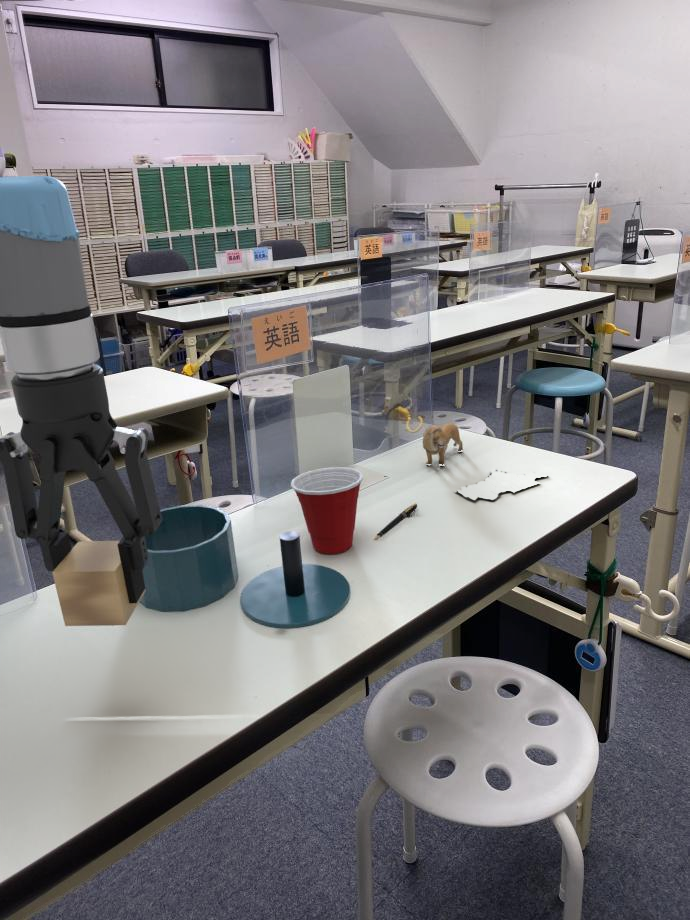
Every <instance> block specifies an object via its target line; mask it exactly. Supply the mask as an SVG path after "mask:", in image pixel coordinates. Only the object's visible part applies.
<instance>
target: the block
mask: <svg viewBox="0 0 690 920" xmlns="http://www.w3.org/2000/svg"><path fill="white" fill-rule="evenodd" d="M119 542H120V540H87V541H86V540H84V541H83V540H82V541H77V542H76V544H75V545H74V546H73V547H72V550H71V551H70V552H69V553H68V555H67V556H66V557H65V558H64V559H63V560H62V562H61V563H60V564H59V565H58V566H57V567H56V569H55V570H54V571H51V572H52V577H53V582H54V585H55V589H56V594H57V598H58V602H59V606H60V610H61V614H62V618H63V623H64V625H65V627H92V626H93V627H95V626H96V627H101V626H103V627H104V626H108V627H109V626H126V625H127V624H128V622H129V620H130V619H131V617H132V615H133V613H134V612H135V611H136V608H137V607H138V605H139V603H140V600H141V598H142V596H143V595H144V593H145V591H146V590H144V592H143V593H142V595H141V597H140V598H139V600H138V602H137V603H129V599H128V594H127V589H126V584H125V579H124V574H123V569H122V564H121V560H120V555H119V550H118V545H117V544H118V543H119Z"/></svg>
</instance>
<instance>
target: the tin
mask: <svg viewBox="0 0 690 920" xmlns="http://www.w3.org/2000/svg"><path fill="white" fill-rule="evenodd" d="M160 512H161V516H162V522H161V523H160V525H159V526H158V528H157V529H156V531H155V532H154V534H153V535H151V536H147V535H146V536H145V540H146V545H147V551H148V556H149V558H148V562H147V564H146V565H145V567H144V568H143V569H142V572H143V577H144V583H145V590H146V591H145V593H144V595H143V596H142V598H141V600H140V602H139V603H140V604H141V605H142V606H143V607H144V608H146V609H148V610H149V609H150V610H153V611H157V612H161V613H183V612H187V611H192V610H197V609H201V608H204V607H207V606H209V605H211V604H214V603H215V602H218V601H219V600H222V599H224V598H225V597H226V596H227V595H228V594H229V593H230V592H231V591H232V590H234V589H235V587H236V585H237V583H238V579H239V570H238V564H237V563H238V562H237V556H236V549H235V548H236V547H235V541H234V533H233V526H232V520H231V518H230V516H229V514H228V513H227V511H225V510H223V509H221V508H219V507H217V506H210V505H205V504H187V505H186V504H185V505H184V504H182V505H178V506H171V507H167V508H162V509H160Z"/></svg>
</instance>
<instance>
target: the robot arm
mask: <svg viewBox="0 0 690 920" xmlns="http://www.w3.org/2000/svg"><path fill="white" fill-rule="evenodd" d="M79 230H80V229H79V228H78V227H77V225H76V221H75V217H74V213H73V208H72V205H71V201H70V196H69V192H68V190H67V187H66V186H65V184H64V183H63V182H62V181H61V180H59V178H56V177H54V176H50V175H49V176H47V175H26V176H25V175H24V176H23V175H22V176H0V342H1V347H2V351H3V355H4V359H5V365H6V368H7V370H8V371H9V372H10V373H13V374H15V375H14V376H12V379H11V381H10V384H11V388H12V392H13V393H12V394H13V397H14V401H15V405H16V409H17V414H18V415H19V417H20V418H21V420H22V425H21V429H20V431H19V432H13V431H10V432H8V433H6V434H5V435H3V436H2V437H0V464H1V465H2V469H3V472H4V473H3V474H4V479H5V484H6V490H7V495H8V501H9V506H10V510H11V511H10V512H11V517H12V522H13V526H14V532H15V536H16V537H17V538H18V539H20V540H25V539H27V538H29V539H32V540H35V541H36V543H38V544H39V547H40V552H41V555H42V560H43V563H44V567H45V569H46V570H47V572H53V571H54V570H55V569H56V567H57V566H58V565H59V564H60V563H61V562H62V560H63V559H64V558H65V557H66V556H67V555H68V553H69V552H70V551H71V550H72V549H73V547H72V543H71V539H70V535H69V532H68V531H66V532H64V531H63V532H62V531H61V532H59V531H60V530H61V529H62V528H63V524H61V518H62V517H61V516H62V507H63V496H64V489H65V480H66V473H67V472H68V471H72V470H73V471H78V472H85V475H86V477H87V478H88V480H89V481H90V482H93V483H94V486H95V487H96V489H97V490H98V492H99V494H100V496H101V498H102V500H103V502H104V504H105V505H106V508H107V509H108V511H109V513H110V514H111V516H112V518H113V520H114V522H115V524H116V525H117V527H118V529H119V531H120V533H121V535H122V537H121V539H120V540H119V541H120V542H119V543H118V544H117V545H118V550H119V555H120V560H121V564H122V569H123V574H124V579H125V584H126V589H127V594H128V599H129V603H137V602H138V600H139V598H140V597H141V595H142V593H143V592H144V590H145V583H144V577H143V572H142V569H143V568H144V567H145V565H146V564H147V562H148V558H149V556H148V551H147V545H146V540H145V536H146V535H147V536H151V535H153V534H154V532H155V531H156V529H157V528H158V526H159V525H160V523H161V522H162V516H161V512H160V510H161V508H160V504H159V499H158V495H157V491H156V487H155V483H154V479H153V474H152V470H151V466H150V462H149V458H148V453H147V450H148V449H147V448H148V442H149V432H148V430H147V429H146V428H144V427H139V428H137V429H136V430H132V429H128V428H125V427H120V426H119V425H118V423H117V422H116V421H115V419H114V418H113V417H112V414H111V412H110V402H109V397H108V391H107V386H106V380H105V375H104V370H103V368H102V367H101V366H100V365H99V364H97V362H98V361H99V359H100V358H101V355H100V350H99V344H98V339H97V334H96V328H95V323H94V318H93V313H92V309H91V304H90V302H89V297H88V292H87V291H88V290H87V285H86V278H85V271H84V270H85V269H84V264H83V256H82V250H81V243H80V231H79ZM114 442H116V443H117V445H118V447H119V452H120V454H122V455H124V465H125V469H126V474H127V477H128V481H129V485H130V489H131V495H132V497H131V495H130V493H129V492H128V490H127V487H126V486H125V483H124V482H123V480H122V478H121V476H120V475H119V473H118V471H117V468H116V461H115V460H114V458H113V456H112V453H111V452H110V448H111V447H112V445H113V443H114ZM29 449H30V450H31V451H32V452H33V453H34V454H35V455H36V456H37V457H38V458H39V459H40V462H39V471H38V479H39V480H40V487H39V497H38V503H37V498H36V491H35V486H34V480H33V475H32V468H31V462H30V458H29V453H28V452H29ZM60 524H61V525H60ZM58 532H59V533H58Z"/></svg>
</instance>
